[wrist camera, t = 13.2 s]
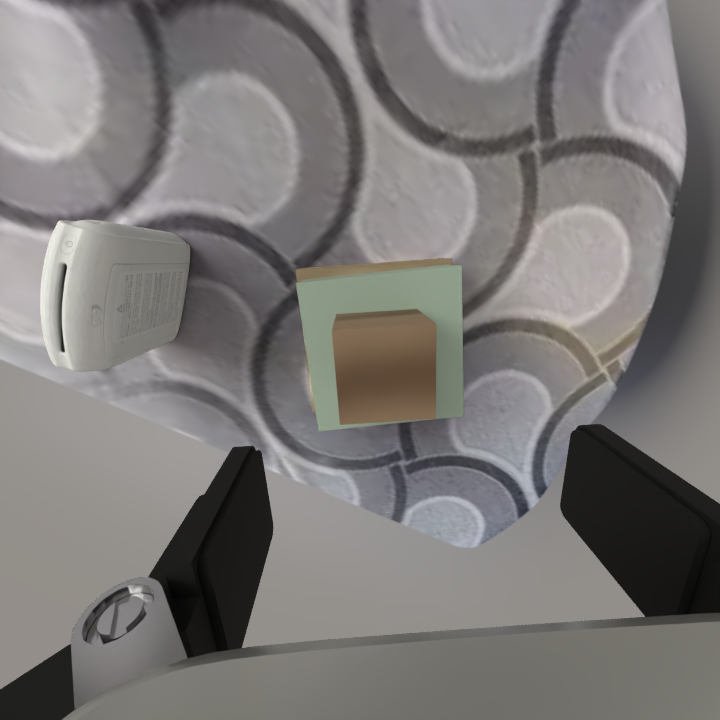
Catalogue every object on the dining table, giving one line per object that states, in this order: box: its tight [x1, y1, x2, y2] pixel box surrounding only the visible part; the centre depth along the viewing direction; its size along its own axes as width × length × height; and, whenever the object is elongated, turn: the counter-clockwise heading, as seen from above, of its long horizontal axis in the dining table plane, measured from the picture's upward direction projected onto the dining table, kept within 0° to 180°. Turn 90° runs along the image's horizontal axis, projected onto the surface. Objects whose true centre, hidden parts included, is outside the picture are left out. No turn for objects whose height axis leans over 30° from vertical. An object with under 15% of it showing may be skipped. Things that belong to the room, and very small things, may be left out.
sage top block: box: [296, 265, 464, 431], centre depth 28 cm, size 12×12×4 cm
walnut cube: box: [332, 309, 436, 425], centre depth 23 cm, size 6×6×6 cm
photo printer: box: [40, 220, 190, 372], centre depth 26 cm, size 10×4×12 cm, turn 163°
